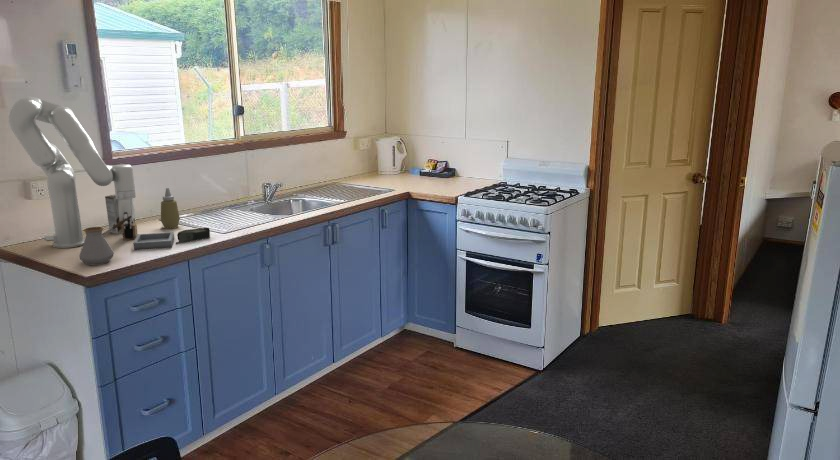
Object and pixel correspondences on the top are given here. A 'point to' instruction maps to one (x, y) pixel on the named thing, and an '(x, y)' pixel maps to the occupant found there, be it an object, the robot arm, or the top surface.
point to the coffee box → (113, 213)
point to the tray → (154, 241)
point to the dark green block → (193, 235)
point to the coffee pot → (97, 245)
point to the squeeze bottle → (169, 211)
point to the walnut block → (133, 231)
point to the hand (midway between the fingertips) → (130, 235)
